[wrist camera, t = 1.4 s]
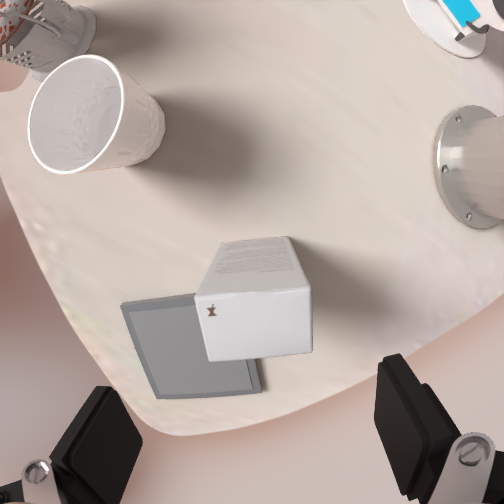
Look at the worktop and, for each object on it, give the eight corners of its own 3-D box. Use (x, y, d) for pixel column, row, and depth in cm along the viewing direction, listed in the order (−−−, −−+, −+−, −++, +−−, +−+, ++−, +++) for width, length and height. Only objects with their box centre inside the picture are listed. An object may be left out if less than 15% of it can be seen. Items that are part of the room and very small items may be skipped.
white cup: (130, 189, 26) (68, 201, 16) (81, 135, 25) (12, 127, 15) (190, 124, 24) (150, 99, 15) (135, 72, 23) (80, 35, 13)
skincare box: (227, 287, 28) (205, 364, 16) (220, 241, 27) (190, 294, 15) (294, 281, 27) (314, 355, 16) (290, 234, 26) (312, 283, 15)
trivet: (239, 286, 28) (239, 290, 27) (261, 388, 31) (261, 393, 30) (123, 302, 29) (119, 306, 28) (158, 394, 32) (156, 399, 31)
